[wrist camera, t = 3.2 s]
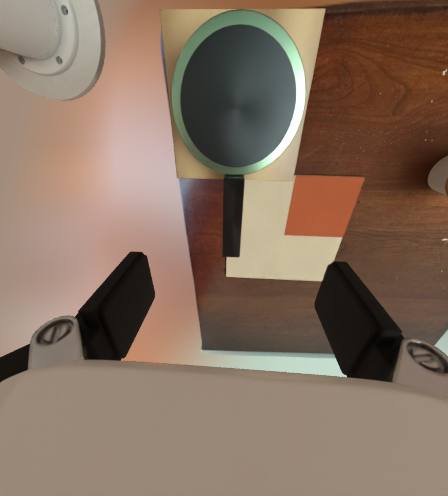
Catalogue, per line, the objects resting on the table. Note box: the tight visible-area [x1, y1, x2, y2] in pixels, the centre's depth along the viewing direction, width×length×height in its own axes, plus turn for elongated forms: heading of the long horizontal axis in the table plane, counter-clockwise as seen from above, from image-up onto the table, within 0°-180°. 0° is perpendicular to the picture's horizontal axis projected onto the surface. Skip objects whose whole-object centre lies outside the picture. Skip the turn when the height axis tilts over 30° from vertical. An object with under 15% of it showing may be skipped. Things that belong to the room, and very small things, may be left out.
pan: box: [171, 9, 306, 257], centre depth 18 cm, size 18×10×4 cm, turn 179°
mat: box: [226, 175, 365, 281], centre depth 39 cm, size 22×22×1 cm
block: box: [160, 9, 325, 181], centre depth 24 cm, size 12×12×14 cm
